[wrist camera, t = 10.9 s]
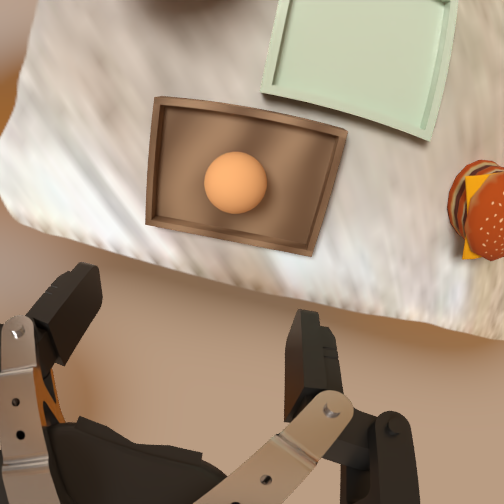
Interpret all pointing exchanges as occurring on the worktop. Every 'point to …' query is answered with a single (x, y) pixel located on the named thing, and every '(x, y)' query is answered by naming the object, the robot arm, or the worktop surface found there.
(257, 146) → the tray
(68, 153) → the worktop surface
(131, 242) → the worktop surface
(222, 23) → the worktop surface
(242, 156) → the ball
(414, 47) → the dish
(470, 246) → the hamburger
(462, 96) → the worktop surface
